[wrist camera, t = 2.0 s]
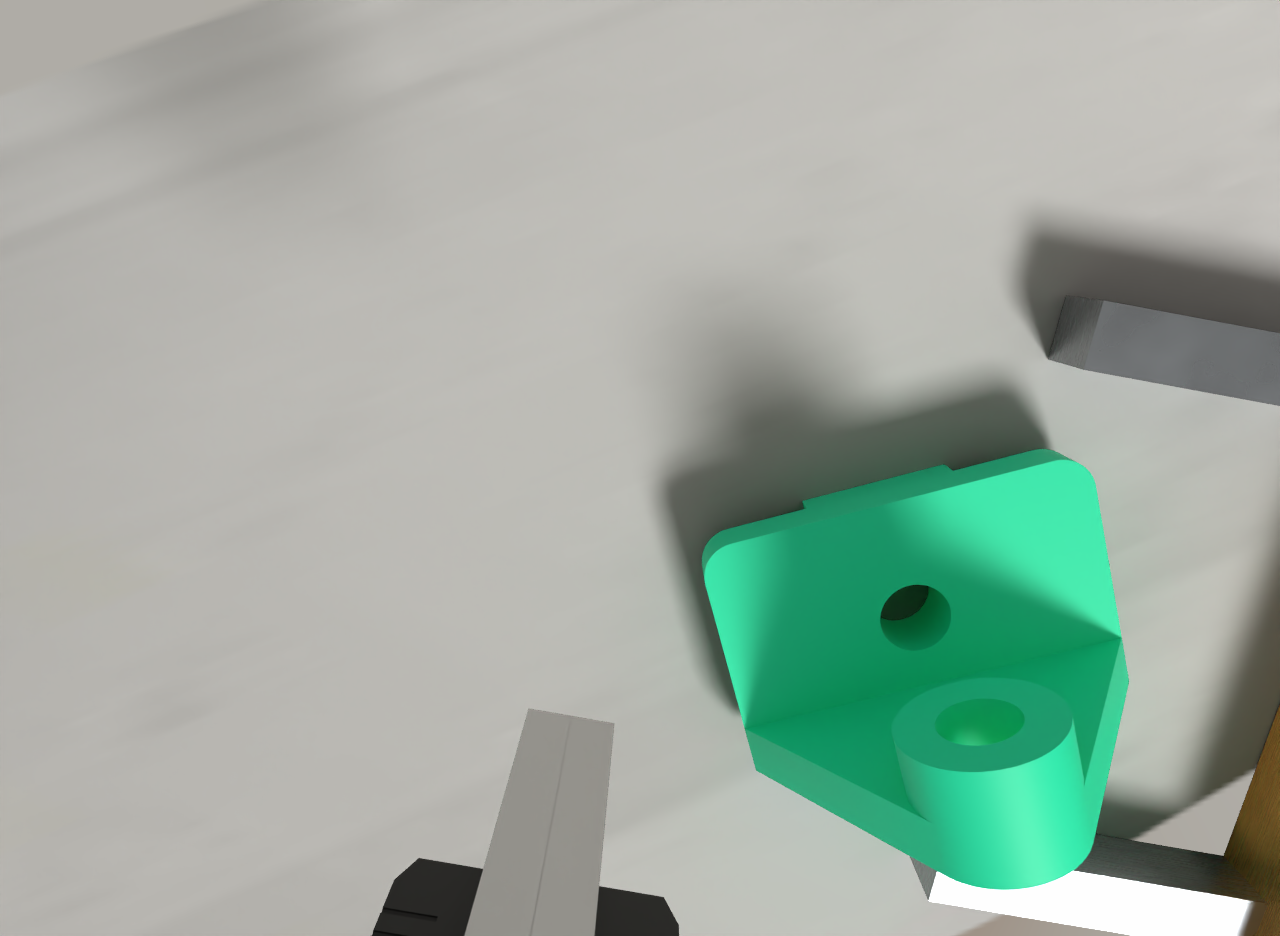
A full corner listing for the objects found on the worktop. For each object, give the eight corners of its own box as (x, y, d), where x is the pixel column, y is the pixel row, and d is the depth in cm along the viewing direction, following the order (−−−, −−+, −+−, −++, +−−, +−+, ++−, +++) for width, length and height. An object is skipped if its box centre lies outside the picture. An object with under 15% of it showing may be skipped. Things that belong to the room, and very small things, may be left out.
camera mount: (1053, 434, 30) (1250, 528, 20) (1091, 646, 32) (1290, 830, 22) (692, 527, 31) (712, 661, 21) (748, 729, 33) (790, 941, 23)
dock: (908, 853, 34) (937, 922, 30) (1066, 295, 29) (1120, 302, 26) (1259, 912, 34) (1326, 987, 31) (1469, 370, 29) (1575, 387, 26)
